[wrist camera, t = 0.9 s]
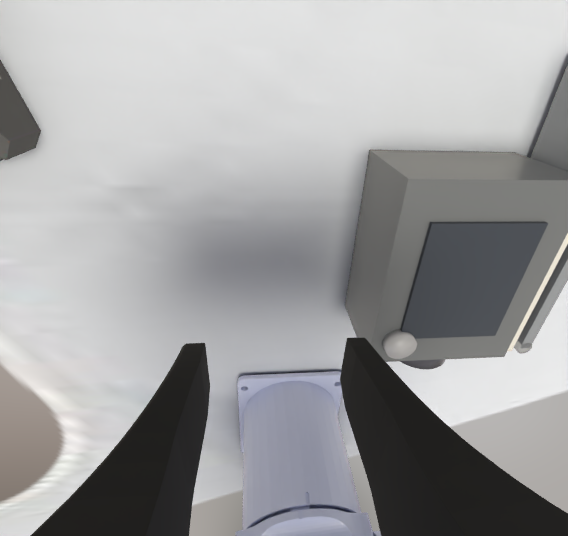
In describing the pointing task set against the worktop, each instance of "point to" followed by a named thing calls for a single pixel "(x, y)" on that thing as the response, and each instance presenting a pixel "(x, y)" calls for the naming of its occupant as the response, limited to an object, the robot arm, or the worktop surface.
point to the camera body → (453, 252)
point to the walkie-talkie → (14, 120)
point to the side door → (564, 154)
